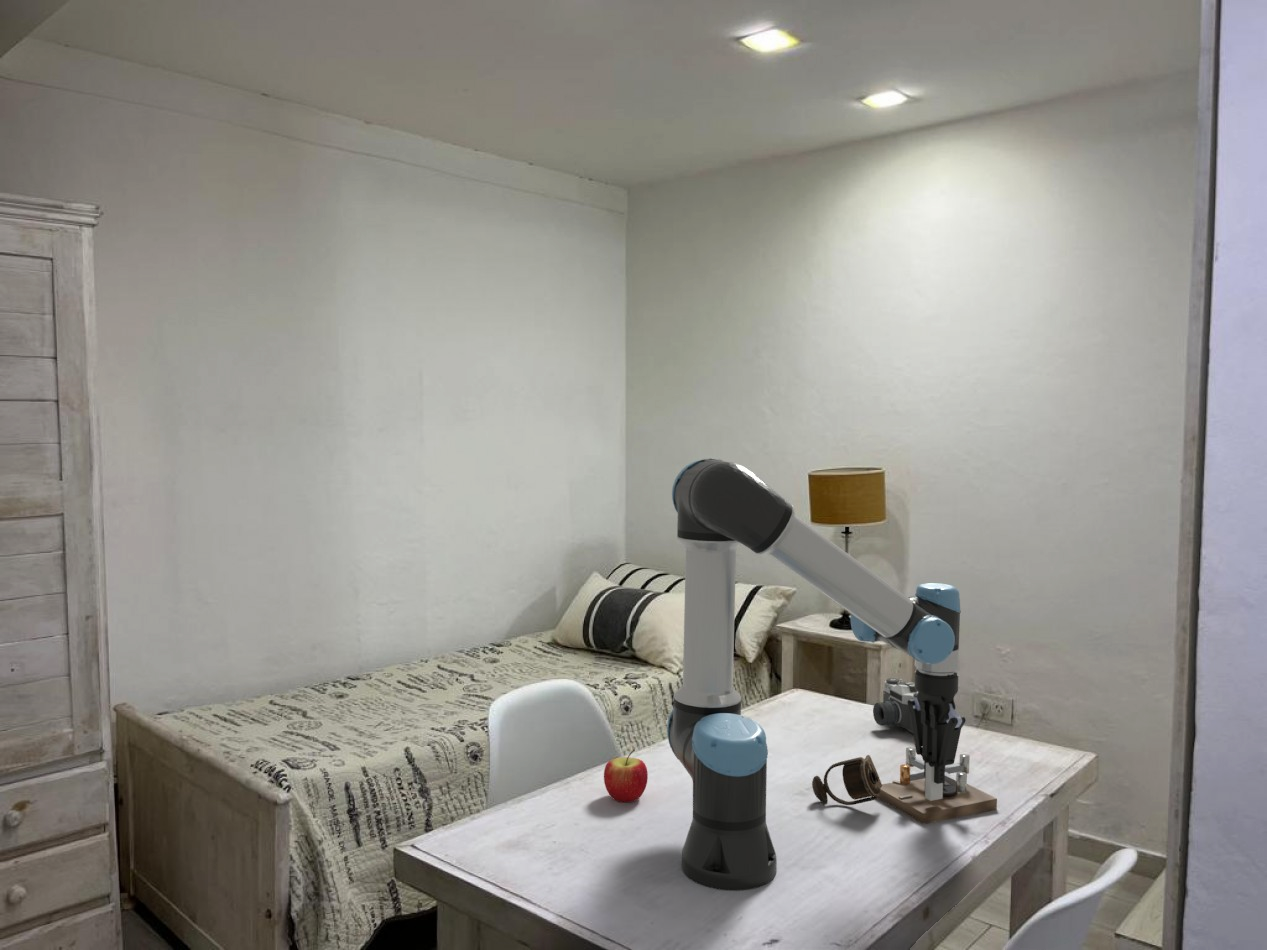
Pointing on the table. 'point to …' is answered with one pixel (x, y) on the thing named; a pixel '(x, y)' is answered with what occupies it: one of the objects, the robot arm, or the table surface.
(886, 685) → the camera
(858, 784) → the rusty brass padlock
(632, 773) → the apple
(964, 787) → the grey star handwheel
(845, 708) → the table surface
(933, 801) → the stand board
